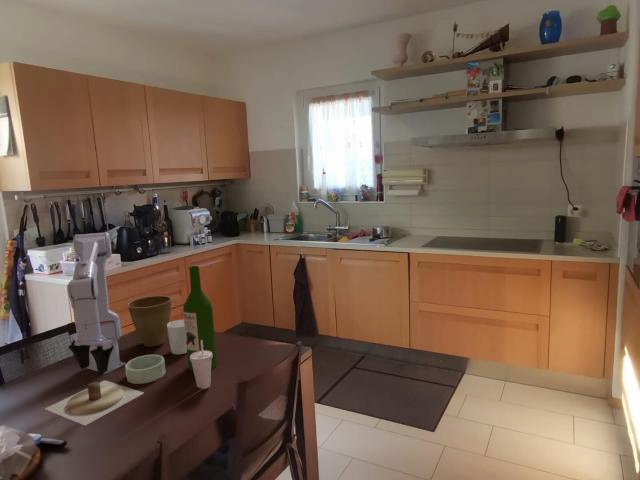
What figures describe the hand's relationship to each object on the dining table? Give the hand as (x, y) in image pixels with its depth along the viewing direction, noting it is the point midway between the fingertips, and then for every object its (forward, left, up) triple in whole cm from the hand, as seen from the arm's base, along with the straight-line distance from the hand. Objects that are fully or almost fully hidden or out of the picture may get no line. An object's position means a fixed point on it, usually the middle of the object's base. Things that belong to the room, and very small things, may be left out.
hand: (94, 369), depth 124 cm
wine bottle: (+11, +30, -10) cm, 33 cm away
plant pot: (-20, +37, -10) cm, 43 cm away
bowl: (0, +17, -10) cm, 19 cm away
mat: (0, 0, -9) cm, 9 cm away
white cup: (-5, +36, -10) cm, 37 cm away
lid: (0, 0, -9) cm, 9 cm away
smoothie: (+21, +20, -10) cm, 30 cm away
